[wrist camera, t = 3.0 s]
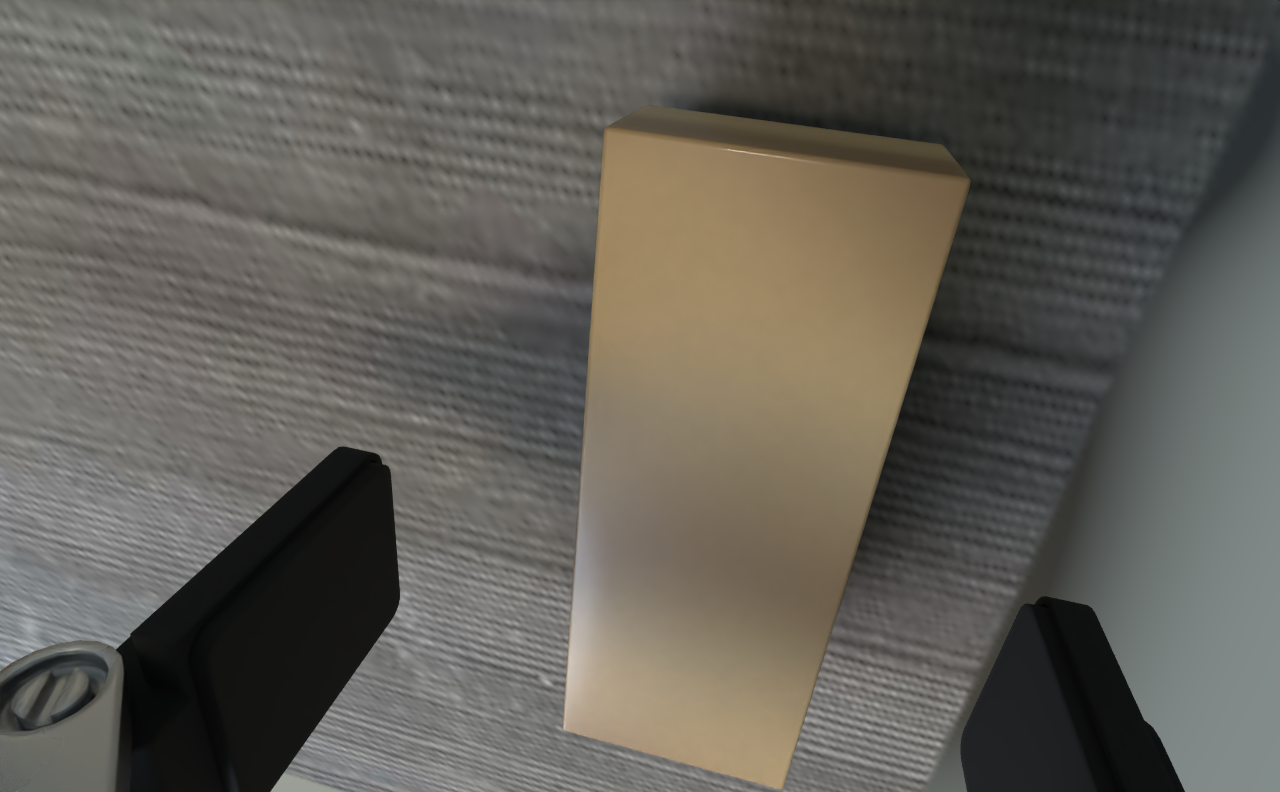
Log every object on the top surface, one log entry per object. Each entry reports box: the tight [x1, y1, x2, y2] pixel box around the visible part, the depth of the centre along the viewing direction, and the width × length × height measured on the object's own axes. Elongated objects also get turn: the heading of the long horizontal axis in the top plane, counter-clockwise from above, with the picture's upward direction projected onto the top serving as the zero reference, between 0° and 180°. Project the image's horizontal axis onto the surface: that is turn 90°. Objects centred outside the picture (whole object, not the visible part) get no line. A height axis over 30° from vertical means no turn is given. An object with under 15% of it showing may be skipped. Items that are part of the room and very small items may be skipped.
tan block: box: [563, 105, 971, 789], centre depth 14 cm, size 12×5×4 cm, turn 175°
